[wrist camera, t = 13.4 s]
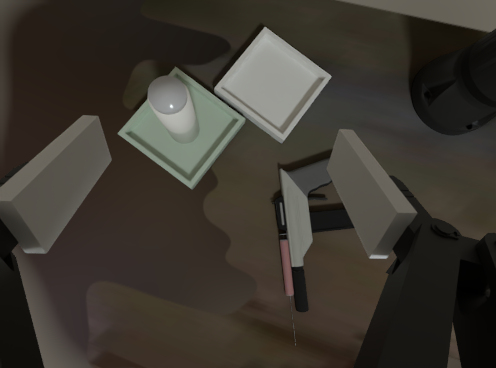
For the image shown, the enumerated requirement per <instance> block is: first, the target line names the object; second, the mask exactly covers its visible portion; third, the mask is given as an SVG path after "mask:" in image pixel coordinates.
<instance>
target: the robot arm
mask: <svg viewBox="0 0 496 368" xmlns="http://www.w3.org/2000/svg"><path fill="white" fill-rule="evenodd" d="M412 101H413V105H414V108H415V110H416V112H417V114H418V115H419V117H420V118H421V119H422V121H423V122H424V123H425V124H426V125H427V126H429V127H430V128H431V129H433V130H435V131H437V132H439V133H442V134H446V135H460V134H464V133H467V132H470V131H473V130H476V129H478V128H480V127H481V126H483V125H484V124H486V123H487V122H488V121H490V120H491V119H492V118H494V117H495V116H496V29H495V30H493V31H492V32H490V33H489V34H487V35H486V36H484V37H483V38H481V39H480V40H478V41H477V42H476V43H474V44H473V45H471V46H469V47H466V48H463V49H460V50H458V51H455V52H452V53H449V54H446V55H443V56H440V57H438V58H436V59H434V60H433V61H431V62H430V63H429V64H427V65H426V66H425V67H423V68H422V69H421V70H420V71H419V72H418V74H417V75H416V77H415V79H414V82H413V85H412ZM110 162H111V156H110V153H109V150H108V146H107V143H106V140H105V137H104V133H103V130H102V127H101V124H100V120H99V117H98V116H87V115H83V116H82V117H80V118H79V119H78V120H77V121H76V122H75V123H74V124H73V125H71V126H70V127H69V128H68V129H67V130H66V131H64V132H63V133H62V134H61V135H60V136H59V137H58V138H56V139H55V140H54V141H53V142H52V143H51V144H50V145H48V146H47V147H46V148H45V149H44V150H43V151H41V152H40V154H38V155H37V156H36V157H35V158H33V159H32V160H31V161H30V162H26V163H24V164H22V165H20V166H18V167H16V168H14V169H13V170H11V171H10V172H9V173H8V174H7V175H6V176H5V178H2V179H1V180H0V368H44V365H43V361H42V358H41V353H40V349H39V345H38V342H37V338H36V334H35V330H34V326H33V322H32V318H31V314H30V310H29V307H28V303H27V299H26V295H25V291H24V287H23V284H22V279H21V275H20V271H19V268H18V264H17V260H16V257H15V255H14V254H13V253H12V252H11V251H12V250H13V249H14V247H15V246H16V245H17V244H19V245H20V246H21V247H22V249H23V250H24V252H25V253H47V251H48V250H49V249H50V247H51V246H52V245H53V243H54V242H55V240H56V239H57V237H58V236H59V235H60V233H61V232H62V230H63V229H64V227H65V226H66V225H67V223H68V222H69V220H70V219H71V217H72V216H73V215H74V213H75V211H76V210H77V209H78V207H79V206H80V205H81V203H82V202H83V200H84V199H85V197H86V196H87V194H88V193H89V192H90V190H91V189H92V187H93V186H94V184H95V183H96V182H97V180H98V179H99V177H100V176H101V174H102V173H103V172H104V170H105V169H106V167H107V166H108V165H109V163H110ZM327 171H328V173H329V175H330V177H331V179H332V182H333V184H334V186H335V188H336V190H337V192H338V194H339V196H340V198H341V200H342V202H343V204H344V207H345V209H346V211H347V213H348V215H349V217H350V219H351V221H352V223H353V225H354V227H355V229H356V232H357V234H358V236H359V238H360V240H361V242H362V244H363V246H364V248H365V250H366V252H367V255H368V257H369V258H387V257H388V255H389V254H390V253H391V251H392V250H393V251H394V253H395V254H396V256H397V258H396V259H395V261H394V262H393V264H392V265H391V266H390V268H389V269H388V270H387V272H386V273H388V274H389V275H388V278H387V281H386V283H385V286H384V288H383V291H382V294H381V296H380V299H379V302H378V304H377V307H376V309H375V312H374V315H373V317H372V320H371V322H370V325H369V328H368V330H367V333H366V336H365V338H364V341H363V343H362V346H361V349H360V351H359V354H358V357H357V359H356V362H355V364H354V367H353V368H447V363H448V355H449V347H450V339H451V331H452V323H453V325H454V330H455V335H456V341H457V346H458V351H459V356H460V362H461V367H462V368H496V233H488V234H486V235H485V236H484V237H483V238H482V239H481V240H480V241H479V240H475V239H472V238H468V237H464V236H462V235H461V234H460V233H459V231H458V230H457V229H456V228H454V227H453V226H452V225H450V224H449V223H447V222H445V221H442V220H439V219H436V218H432V217H431V216H430V215H429V214H428V212H427V211H426V210H425V209H424V208H423V206H422V205H421V204H420V203H419V202H418V200H417V199H416V198H414V195H413V194H412V193H411V192H410V191H409V189H408V188H407V187H406V186H405V185H404V183H403V182H401V181H400V180H398V179H397V178H396V177H394V176H388V175H387V173H386V172H385V171H384V169H383V168H382V167H381V166H380V164H379V163H378V162H377V160H376V159H375V158H374V157H373V155H372V154H371V153H370V152H369V150H368V149H367V148H366V146H365V145H364V144H363V143H362V141H361V140H360V139H359V137H358V136H357V135H356V134H355V132H354V131H353V130H347V129H339V132H338V135H337V138H336V141H335V144H334V147H333V150H332V153H331V157H330V160H329V163H328V166H327Z"/></svg>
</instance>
